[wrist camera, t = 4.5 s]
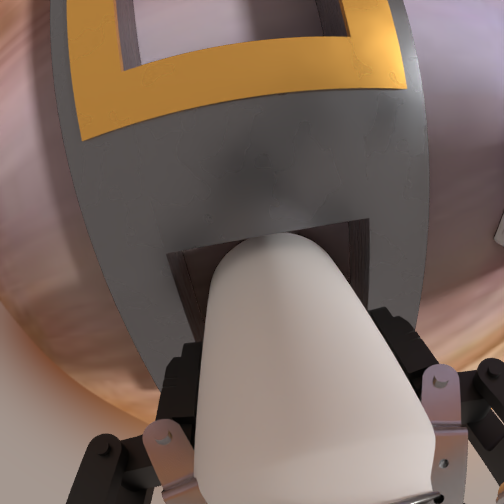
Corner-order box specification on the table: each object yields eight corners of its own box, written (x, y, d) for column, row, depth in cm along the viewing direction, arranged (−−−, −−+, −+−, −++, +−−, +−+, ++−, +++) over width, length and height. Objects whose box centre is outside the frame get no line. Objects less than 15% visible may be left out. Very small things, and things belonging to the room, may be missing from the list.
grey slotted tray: (390, 345, 17) (407, 374, 15) (178, 384, 18) (173, 418, 15) (338, -89, 6) (353, -113, 4) (76, -48, 6) (54, -67, 4)
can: (204, 332, 16) (191, 558, 5) (217, 219, 13) (187, 528, 2) (317, 341, 17) (380, 538, 6) (351, 238, 14) (512, 449, 3)
